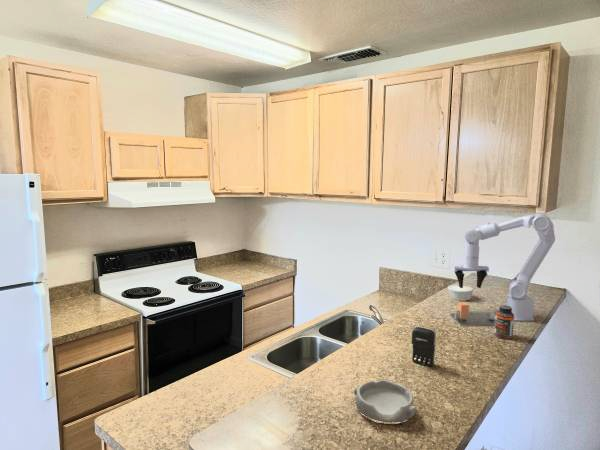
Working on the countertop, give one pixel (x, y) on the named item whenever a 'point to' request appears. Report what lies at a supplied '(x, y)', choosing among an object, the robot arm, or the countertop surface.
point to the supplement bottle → (504, 322)
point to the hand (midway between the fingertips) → (469, 287)
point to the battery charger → (423, 345)
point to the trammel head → (463, 309)
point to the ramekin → (460, 292)
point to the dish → (385, 401)
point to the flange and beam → (475, 318)
